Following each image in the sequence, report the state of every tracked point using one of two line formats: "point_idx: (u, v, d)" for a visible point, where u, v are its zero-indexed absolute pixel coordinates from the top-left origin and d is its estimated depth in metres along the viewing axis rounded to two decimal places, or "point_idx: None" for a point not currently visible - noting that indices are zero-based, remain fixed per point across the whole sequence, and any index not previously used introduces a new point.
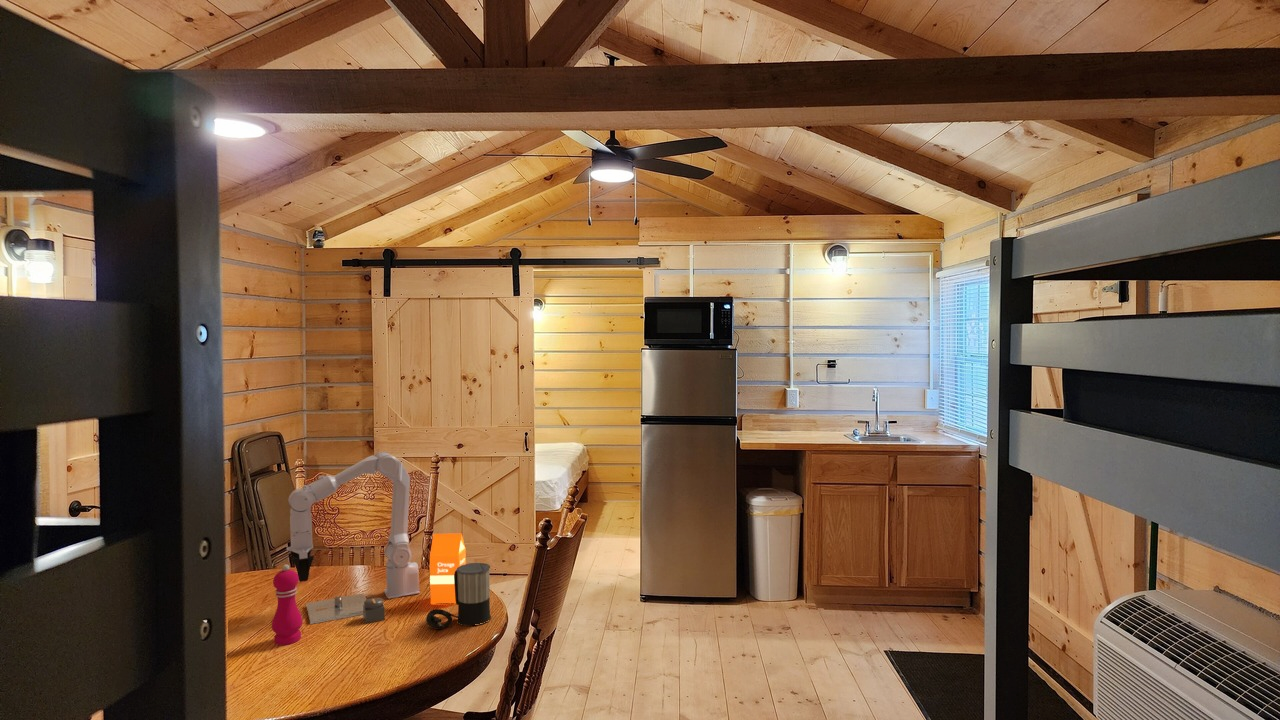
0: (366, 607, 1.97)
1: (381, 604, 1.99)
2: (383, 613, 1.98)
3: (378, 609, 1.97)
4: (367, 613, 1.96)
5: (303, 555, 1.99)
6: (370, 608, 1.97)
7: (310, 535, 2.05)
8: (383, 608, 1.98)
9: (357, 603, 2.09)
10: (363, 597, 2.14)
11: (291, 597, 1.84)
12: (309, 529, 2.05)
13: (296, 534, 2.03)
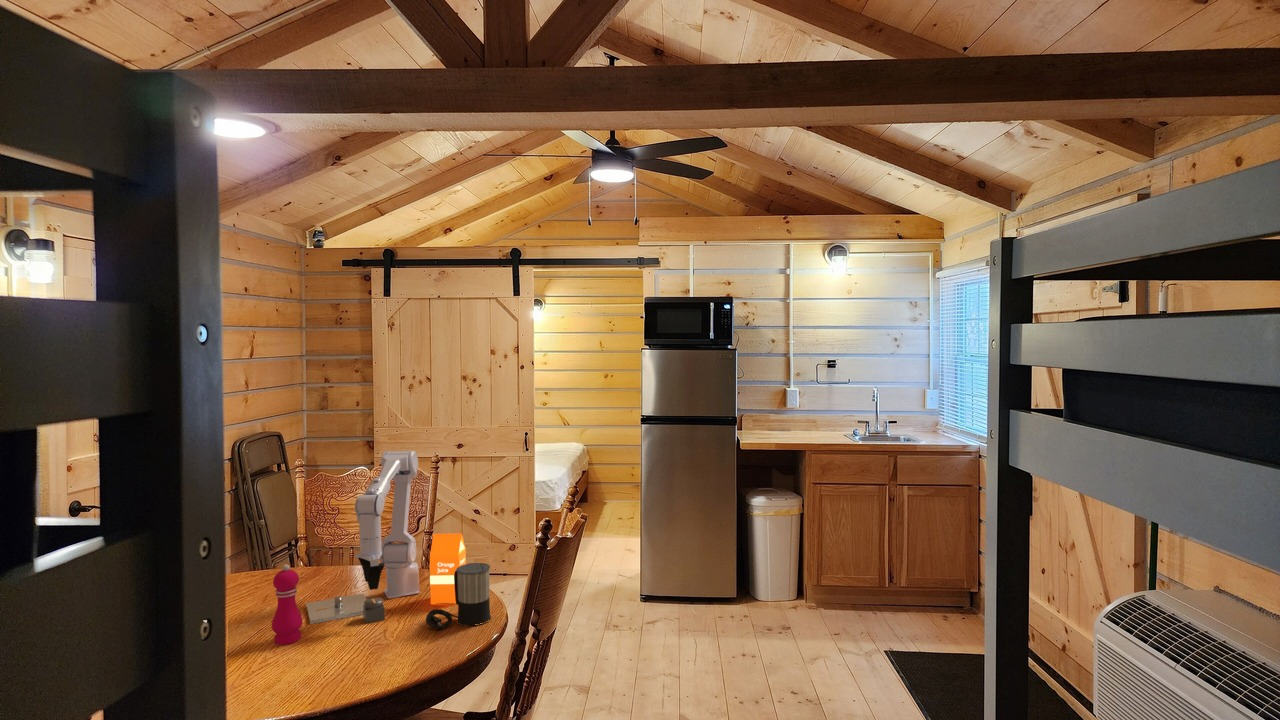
0: (366, 607, 1.97)
1: (381, 604, 1.99)
2: (383, 613, 1.98)
3: (378, 609, 1.97)
4: (367, 613, 1.96)
5: (374, 562, 1.93)
6: (370, 608, 1.97)
7: (379, 541, 1.99)
8: (383, 608, 1.98)
9: (357, 603, 2.09)
10: (363, 597, 2.14)
11: (291, 597, 1.84)
12: None
13: (366, 540, 1.96)
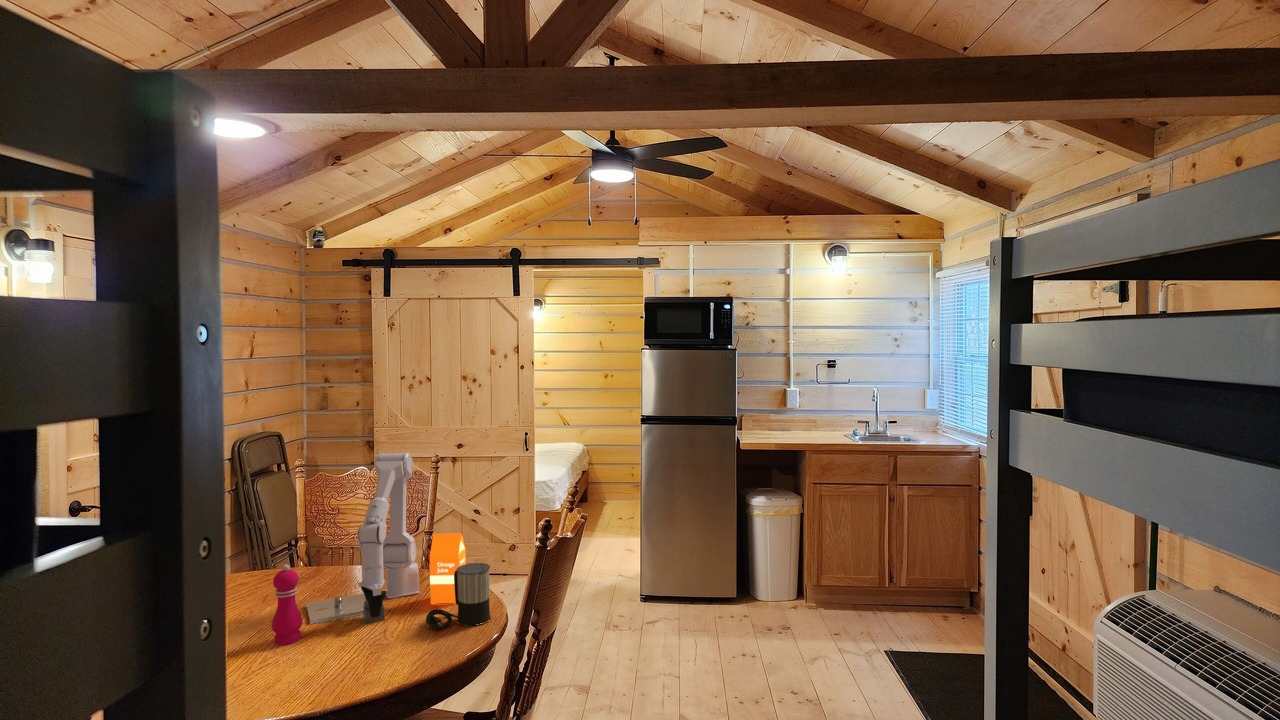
0: (366, 607, 1.97)
1: None
2: (383, 613, 1.98)
3: None
4: (367, 613, 1.96)
5: (377, 592, 1.93)
6: None
7: (382, 570, 1.99)
8: (383, 608, 1.98)
9: (357, 603, 2.09)
10: (363, 597, 2.14)
11: (291, 597, 1.84)
12: None
13: (368, 569, 1.96)
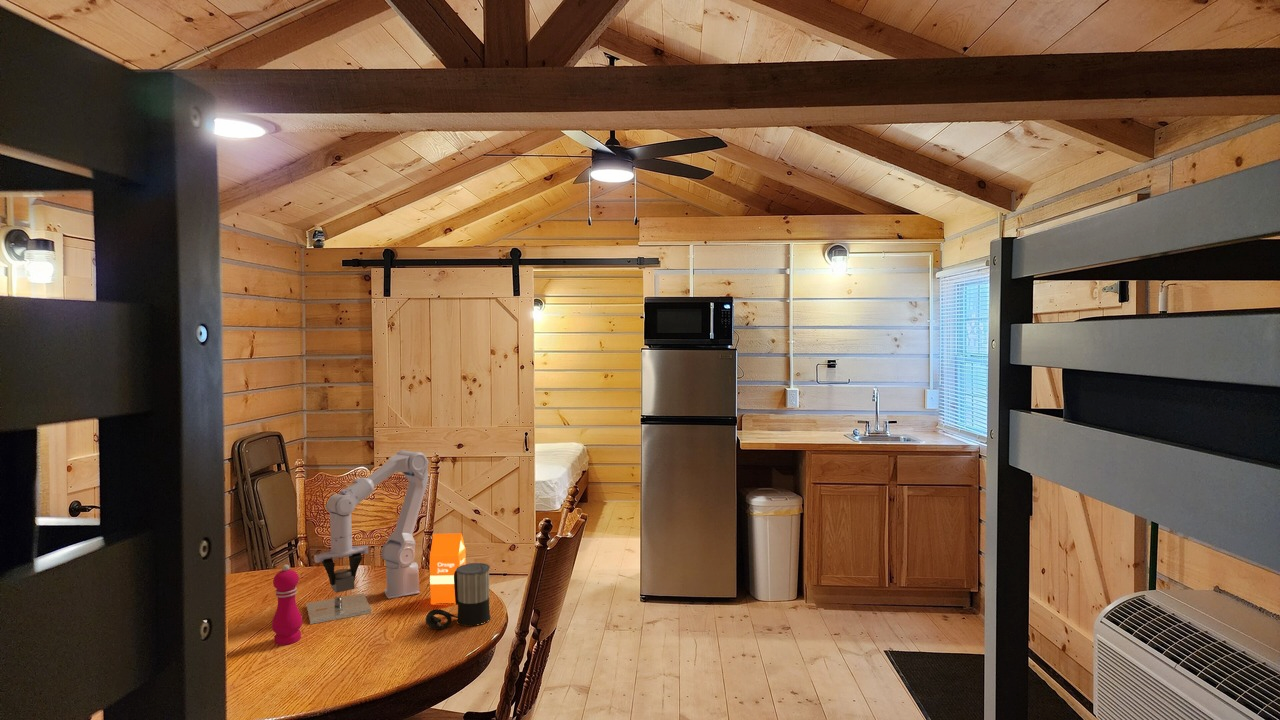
0: None
1: (338, 577, 2.03)
2: (335, 586, 2.02)
3: None
4: None
5: (315, 559, 2.01)
6: None
7: (337, 542, 2.02)
8: (335, 581, 2.02)
9: (357, 603, 2.09)
10: (363, 597, 2.14)
11: (291, 597, 1.84)
12: (351, 533, 2.05)
13: None
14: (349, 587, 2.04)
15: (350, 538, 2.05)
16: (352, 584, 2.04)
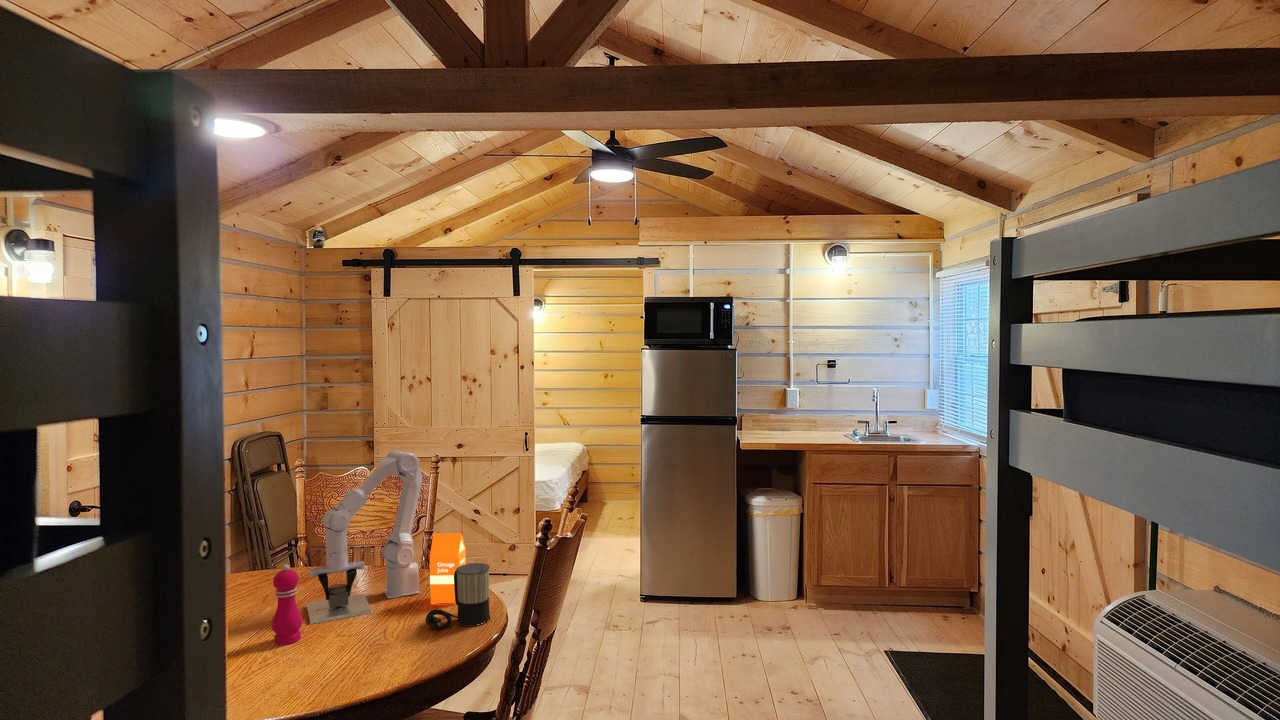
0: None
1: (332, 592, 2.04)
2: (329, 601, 2.03)
3: None
4: None
5: (310, 573, 2.03)
6: None
7: (331, 558, 2.04)
8: (329, 596, 2.03)
9: (357, 603, 2.09)
10: (363, 597, 2.14)
11: (291, 597, 1.84)
12: (346, 549, 2.06)
13: None
14: (343, 602, 2.05)
15: (345, 554, 2.06)
16: (346, 600, 2.05)
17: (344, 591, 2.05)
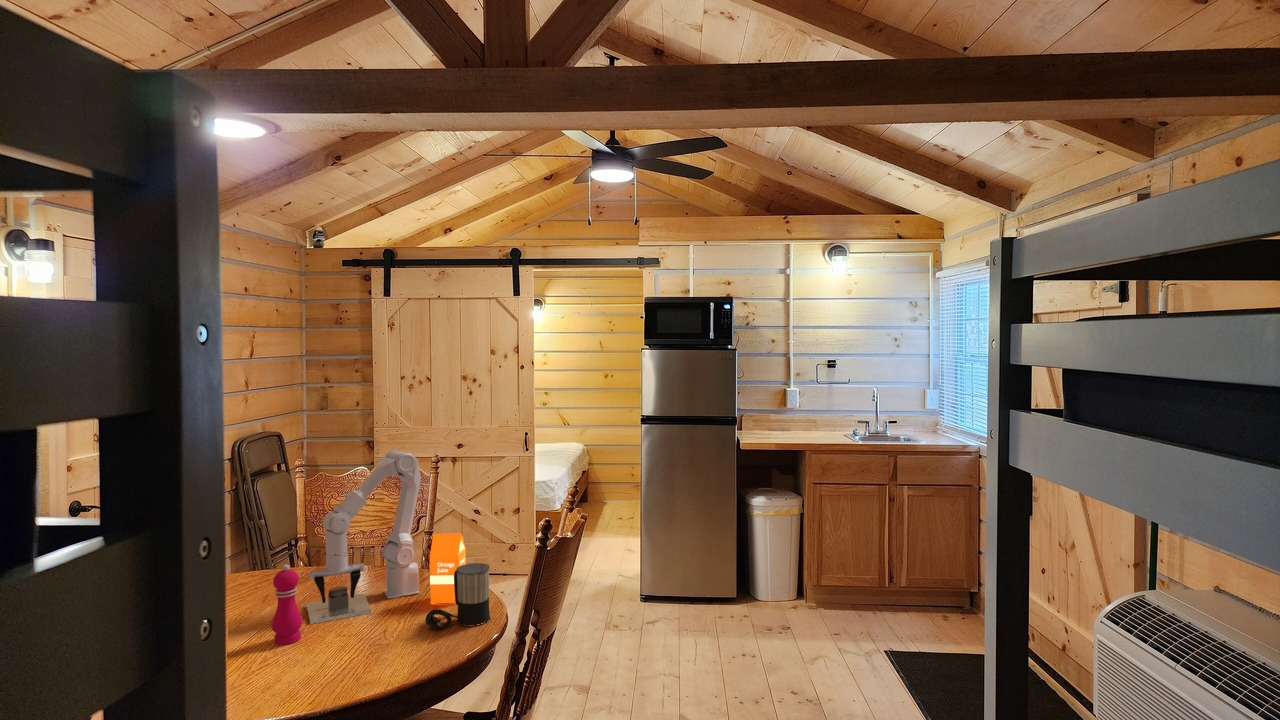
0: None
1: (332, 595, 2.04)
2: (329, 604, 2.03)
3: (329, 598, 2.04)
4: (328, 597, 2.07)
5: (310, 575, 2.03)
6: None
7: (331, 560, 2.04)
8: (329, 599, 2.03)
9: (357, 603, 2.09)
10: (363, 597, 2.14)
11: (291, 597, 1.84)
12: (346, 551, 2.06)
13: None
14: (343, 605, 2.05)
15: (345, 556, 2.06)
16: (346, 603, 2.05)
17: (344, 594, 2.05)
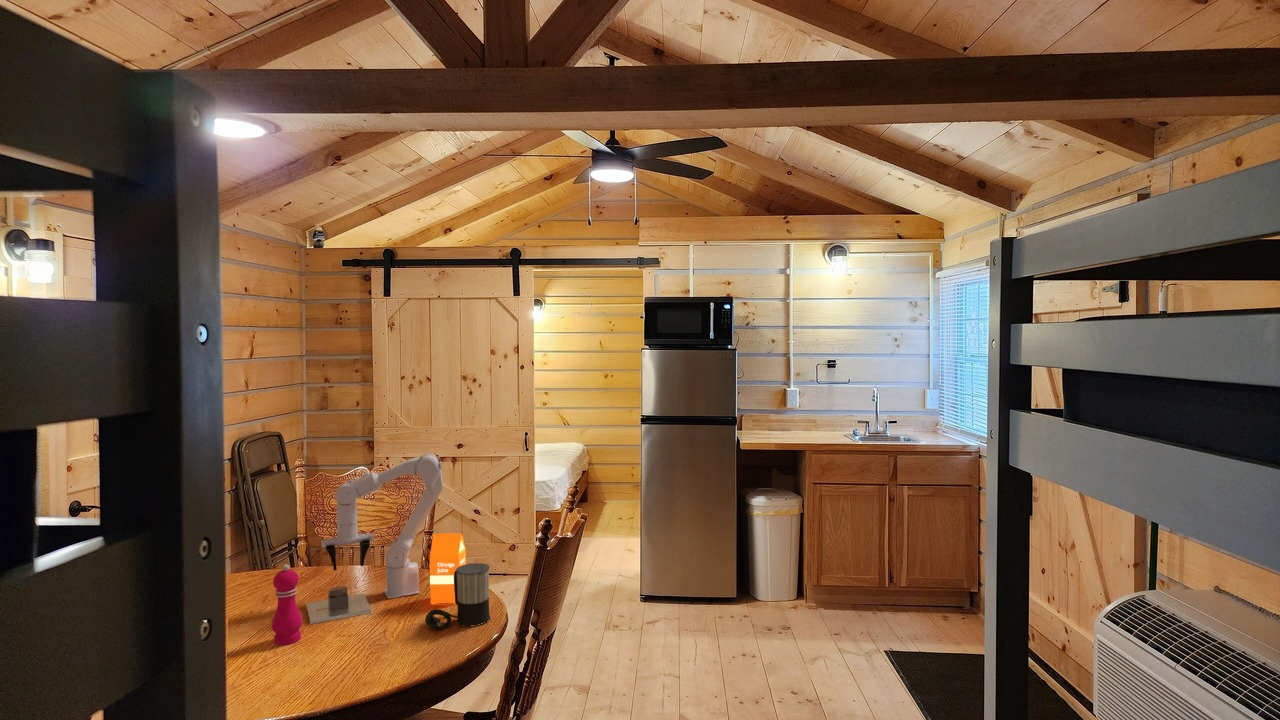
0: None
1: (332, 595, 2.04)
2: (329, 604, 2.03)
3: (329, 598, 2.04)
4: (328, 597, 2.07)
5: None
6: None
7: (342, 529, 2.13)
8: (329, 599, 2.03)
9: (357, 603, 2.09)
10: (363, 597, 2.14)
11: (291, 597, 1.84)
12: (352, 522, 2.15)
13: None
14: (343, 605, 2.05)
15: (355, 526, 2.15)
16: (346, 603, 2.05)
17: (344, 594, 2.05)
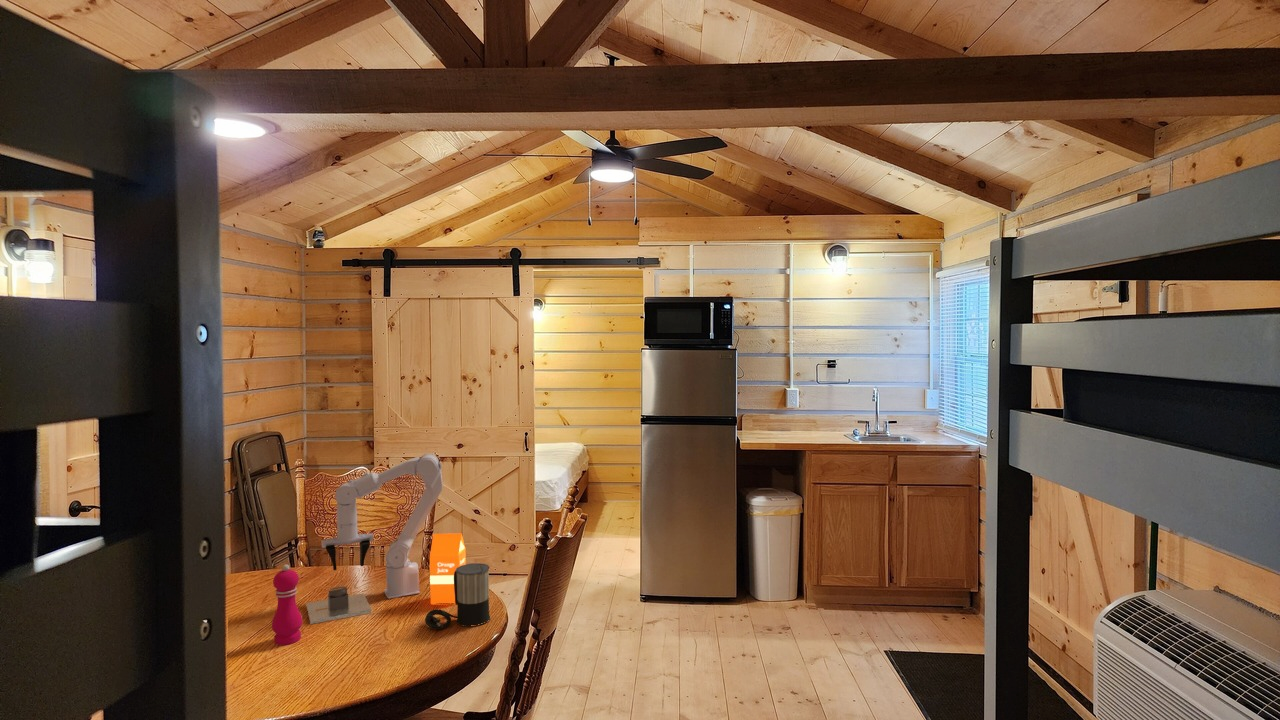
0: None
1: (332, 595, 2.04)
2: (329, 604, 2.03)
3: (329, 598, 2.04)
4: (328, 597, 2.07)
5: None
6: None
7: (342, 529, 2.13)
8: (329, 599, 2.03)
9: (357, 603, 2.09)
10: (363, 597, 2.14)
11: (291, 597, 1.84)
12: (352, 522, 2.15)
13: None
14: (343, 605, 2.05)
15: (355, 526, 2.15)
16: (346, 603, 2.05)
17: (344, 594, 2.05)
